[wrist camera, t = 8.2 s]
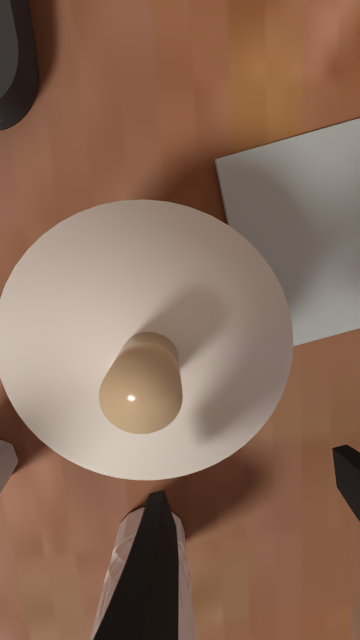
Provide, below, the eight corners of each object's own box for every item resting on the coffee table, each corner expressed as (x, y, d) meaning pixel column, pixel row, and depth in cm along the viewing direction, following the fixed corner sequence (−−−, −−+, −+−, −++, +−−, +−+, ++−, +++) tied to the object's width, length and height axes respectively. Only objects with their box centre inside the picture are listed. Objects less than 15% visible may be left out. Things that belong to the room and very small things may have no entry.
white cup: (117, 496, 22) (76, 681, 12) (196, 504, 22) (218, 686, 13) (107, 556, 23) (64, 762, 14) (181, 561, 24) (190, 761, 14)
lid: (260, 168, 10) (322, 100, 6) (300, 432, 13) (358, 503, 9) (-47, 250, 10) (-188, 238, 6) (68, 492, 13) (25, 588, 9)
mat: (422, 102, 15) (429, 98, 15) (425, 307, 19) (430, 308, 18) (214, 161, 16) (215, 159, 15) (254, 354, 19) (256, 356, 19)
